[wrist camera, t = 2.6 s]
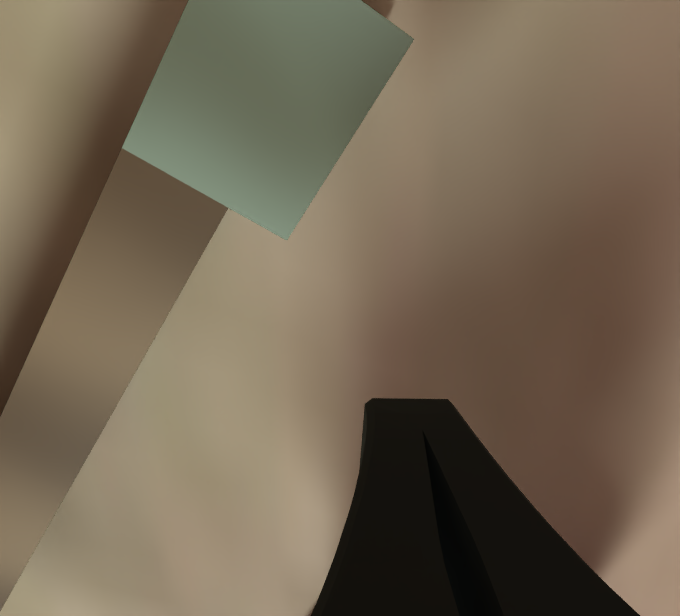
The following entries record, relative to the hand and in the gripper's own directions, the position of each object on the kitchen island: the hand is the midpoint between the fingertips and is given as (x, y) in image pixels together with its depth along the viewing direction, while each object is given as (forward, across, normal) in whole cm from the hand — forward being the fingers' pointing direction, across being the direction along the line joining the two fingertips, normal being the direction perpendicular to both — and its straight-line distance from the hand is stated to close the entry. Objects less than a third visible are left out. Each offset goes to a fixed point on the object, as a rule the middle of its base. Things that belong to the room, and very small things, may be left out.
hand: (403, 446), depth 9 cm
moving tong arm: (+6, +6, +1) cm, 9 cm away
